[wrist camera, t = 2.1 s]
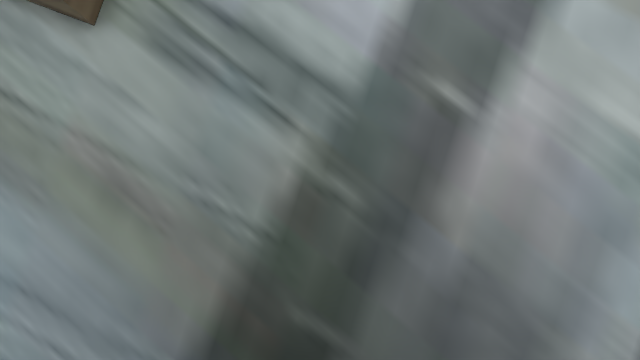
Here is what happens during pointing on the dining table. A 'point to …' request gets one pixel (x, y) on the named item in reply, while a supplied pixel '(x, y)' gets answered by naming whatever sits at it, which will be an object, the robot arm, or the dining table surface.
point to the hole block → (74, 8)
